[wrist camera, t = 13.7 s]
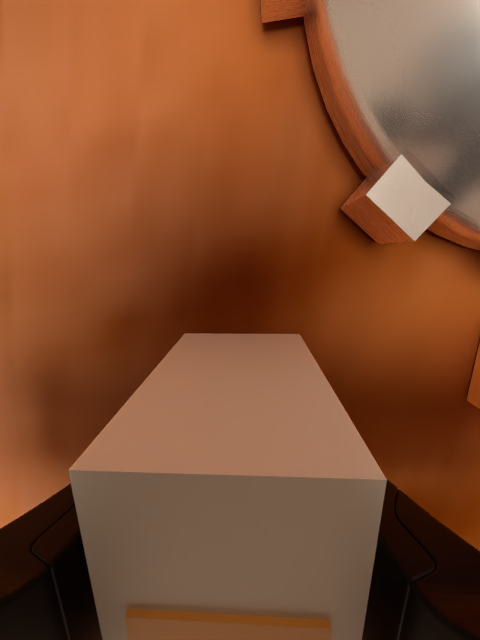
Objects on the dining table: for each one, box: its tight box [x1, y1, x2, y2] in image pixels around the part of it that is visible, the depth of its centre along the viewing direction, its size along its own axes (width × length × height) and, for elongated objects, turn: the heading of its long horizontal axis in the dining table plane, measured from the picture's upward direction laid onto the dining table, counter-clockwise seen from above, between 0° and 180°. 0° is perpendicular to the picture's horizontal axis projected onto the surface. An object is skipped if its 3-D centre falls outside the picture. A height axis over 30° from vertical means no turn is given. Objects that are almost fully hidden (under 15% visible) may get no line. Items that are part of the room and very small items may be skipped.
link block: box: [68, 333, 387, 640], centre depth 7 cm, size 4×6×6 cm, turn 0°
